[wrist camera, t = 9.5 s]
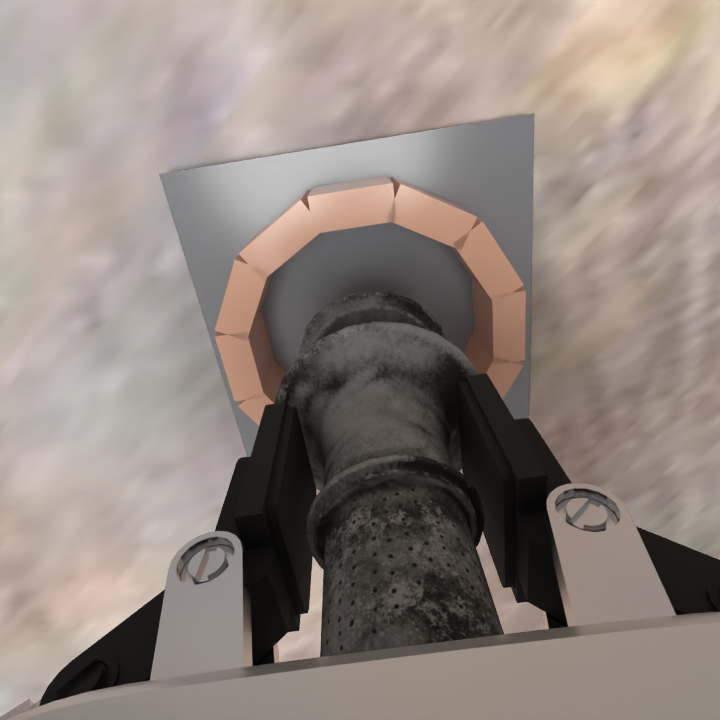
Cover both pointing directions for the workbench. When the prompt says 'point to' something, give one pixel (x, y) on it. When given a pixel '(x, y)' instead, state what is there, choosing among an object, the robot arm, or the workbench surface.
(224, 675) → the robot arm
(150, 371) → the workbench surface
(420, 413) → the dark flared piece
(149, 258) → the workbench surface
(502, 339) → the shaker holder
